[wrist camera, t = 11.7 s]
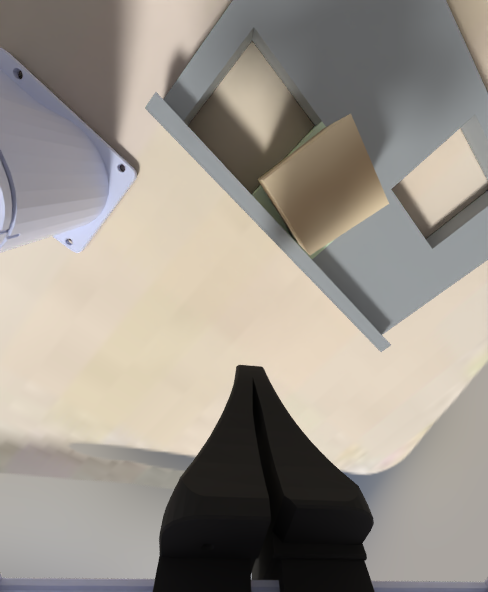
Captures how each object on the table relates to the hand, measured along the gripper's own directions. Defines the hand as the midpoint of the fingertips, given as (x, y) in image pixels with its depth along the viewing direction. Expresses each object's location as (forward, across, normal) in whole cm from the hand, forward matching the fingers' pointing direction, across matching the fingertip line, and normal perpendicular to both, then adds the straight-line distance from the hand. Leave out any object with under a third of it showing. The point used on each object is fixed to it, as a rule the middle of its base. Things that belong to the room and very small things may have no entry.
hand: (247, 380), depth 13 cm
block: (+8, -3, -9) cm, 13 cm away
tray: (+10, -7, -11) cm, 16 cm away
